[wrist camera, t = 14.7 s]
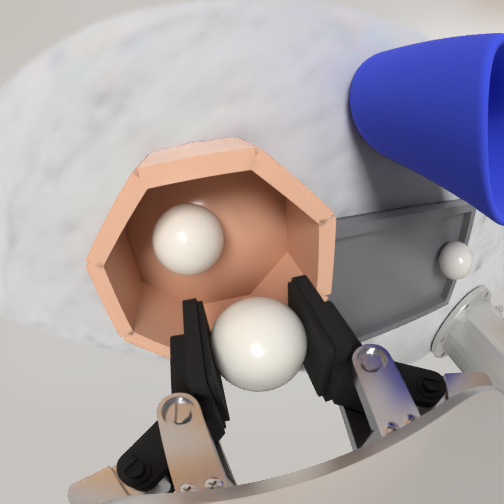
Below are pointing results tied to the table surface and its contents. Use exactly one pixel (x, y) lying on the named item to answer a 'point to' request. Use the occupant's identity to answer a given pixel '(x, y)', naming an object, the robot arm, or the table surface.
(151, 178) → the bowl
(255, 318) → the white ball
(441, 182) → the mug
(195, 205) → the white ball
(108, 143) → the table surface
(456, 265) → the white ball
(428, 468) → the robot arm
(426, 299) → the tray
